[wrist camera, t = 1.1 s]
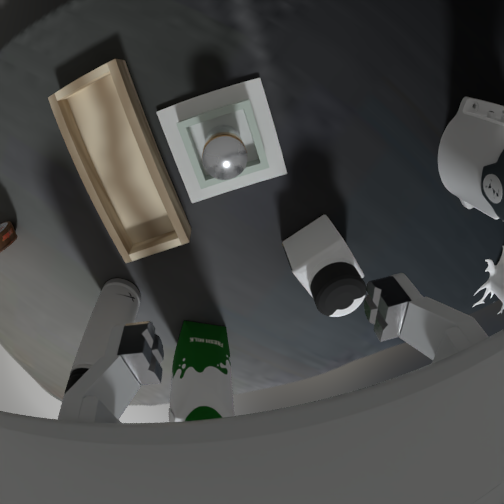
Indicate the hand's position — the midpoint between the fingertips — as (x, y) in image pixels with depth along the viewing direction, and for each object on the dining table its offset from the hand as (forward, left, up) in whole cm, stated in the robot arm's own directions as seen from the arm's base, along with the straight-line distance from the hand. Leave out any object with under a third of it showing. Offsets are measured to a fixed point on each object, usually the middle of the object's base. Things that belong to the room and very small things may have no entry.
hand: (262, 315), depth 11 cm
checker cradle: (+1, -1, -27) cm, 27 cm away
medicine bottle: (-7, +16, -27) cm, 33 cm away
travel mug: (+23, +15, -27) cm, 38 cm away
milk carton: (+15, +28, -27) cm, 42 cm away
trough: (+13, -3, -27) cm, 30 cm away
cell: (+1, -1, -27) cm, 27 cm away
